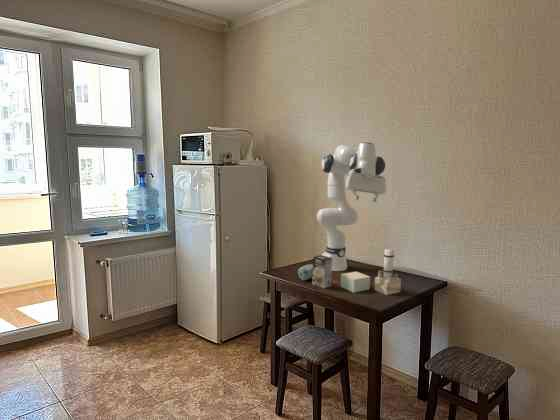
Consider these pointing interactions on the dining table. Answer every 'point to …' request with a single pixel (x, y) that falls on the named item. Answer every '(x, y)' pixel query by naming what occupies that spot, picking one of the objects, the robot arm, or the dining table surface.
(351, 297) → the dining table surface
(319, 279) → the coffee box
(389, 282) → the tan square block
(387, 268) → the white thermos bottle
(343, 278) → the beige box
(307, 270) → the spool
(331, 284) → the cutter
